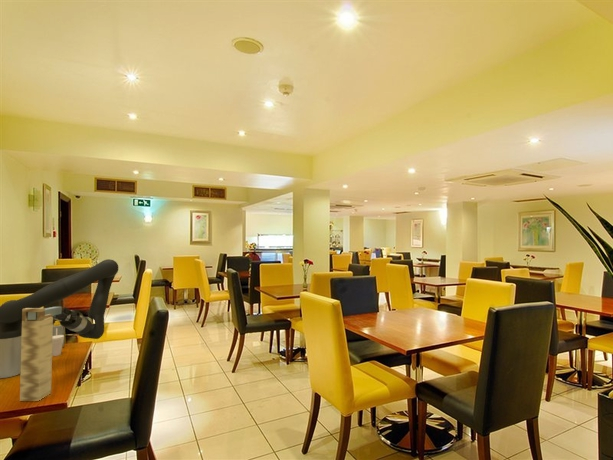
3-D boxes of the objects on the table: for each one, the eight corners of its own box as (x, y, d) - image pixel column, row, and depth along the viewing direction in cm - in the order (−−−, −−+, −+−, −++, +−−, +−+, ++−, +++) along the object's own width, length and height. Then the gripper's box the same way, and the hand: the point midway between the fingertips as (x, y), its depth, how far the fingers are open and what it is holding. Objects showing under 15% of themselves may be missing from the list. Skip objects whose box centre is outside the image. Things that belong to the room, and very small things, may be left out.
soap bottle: (58, 350, 187) (59, 317, 188) (45, 350, 187) (46, 317, 187) (67, 346, 194) (68, 315, 194) (55, 346, 194) (55, 315, 194)
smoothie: (61, 352, 184) (62, 326, 184) (65, 354, 180) (66, 328, 180) (47, 355, 179) (48, 328, 180) (50, 357, 175) (51, 330, 175)
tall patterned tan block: (19, 401, 128) (22, 309, 129) (32, 393, 134) (35, 305, 135) (38, 401, 128) (41, 309, 129) (51, 393, 135) (53, 305, 136)
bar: (27, 319, 129) (28, 311, 129) (54, 313, 143) (54, 306, 144) (35, 319, 129) (36, 311, 129) (61, 313, 143) (61, 306, 144)
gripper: (60, 313, 156) (38, 301, 142) (92, 313, 156) (73, 301, 143) (54, 329, 152) (31, 318, 138) (87, 329, 152) (67, 318, 139)
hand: (52, 309), depth 140 cm, fingers open, 8 cm apart
